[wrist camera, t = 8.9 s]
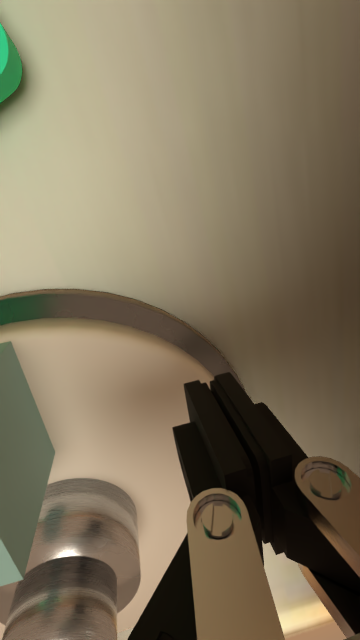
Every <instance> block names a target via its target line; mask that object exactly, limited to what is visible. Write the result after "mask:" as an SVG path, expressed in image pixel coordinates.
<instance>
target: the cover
mask: <svg viewBox="0 0 360 640" xmlns="http://www.w3.org/2000/svg"><path fill="white" fill-rule="evenodd" d="M140 580H141V570H140V554H139V539H138V523H137V511H136V507H135V504H134V502H133V501H132V499H131V497H130V496H129V495H128V494H127V493H126V492H125V491H123V490H122V489H121V488H119V487H117V486H116V485H114V484H111V483H109V482H106V481H102V480H98V479H91V478H73V479H65V480H61V481H57V482H54V483H51V484H48V485H47V488H46V492H45V496H44V500H43V504H42V508H41V512H40V516H39V520H38V524H37V528H36V532H35V536H34V539H33V543H32V547H31V551H30V555H29V559H28V563H27V567H26V571H25V575H24V579H23V580H20V581H17V582H13V583H10V584H7V585H3V586H0V623H2V624H3V625H5V630H4V633H3V637H2V640H117V614H118V613H119V612H120V611H122V610H123V609H124V608H125V607H126V606H127V605H128V604H129V603H130V602H131V600H132V599H133V598H134V596H135V594H136V593H137V591H138V588H139V585H140Z"/></svg>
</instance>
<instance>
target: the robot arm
mask: <svg viewBox="0 0 360 640" xmlns="http://www.w3.org/2000/svg"><path fill="white" fill-rule="evenodd" d="M184 391H185V397H186V403H187V408H188V414H189V420H190V422H189V423H186V424H182V425H178V426H175V427H172V429H173V435H174V440H175V445H176V449H177V454H178V458H179V462H180V466H181V469H182V473H183V477H184V480H185V484H186V487H187V491H188V494H189V498H190V501H191V503H190V505H189V508H188V510H187V520H186V521H187V532H188V533H187V534H186V536H185V538H184V540H183V542H182V543H181V545H180V547H179V549H178V550H177V552H176V554H175V556H174V558H173V559H172V561H171V563H170V565H169V566H168V568H167V570H166V572H165V574H164V575H163V577H162V579H161V581H160V582H159V584H158V586H157V588H156V590H155V591H154V593H153V595H152V597H151V598H150V600H149V602H148V604H147V606H146V607H145V609H144V611H143V613H142V614H141V616H140V618H139V620H138V622H137V623H136V625H135V627H134V629H133V630H132V632H131V634H130V636H129V638H128V640H285V638H284V635H283V631H282V628H281V624H280V621H279V618H278V614H277V611H276V607H275V604H274V600H273V597H272V594H271V590H270V587H269V583H268V580H267V576H266V573H265V569H264V559H263V547H262V541H263V542H264V544H266V543H269V542H270V543H271V545H272V547H273V550H274V552H275V554H276V555H277V554H280V553H283V552H284V553H285V555H286V557H287V558H289V559H291V560H293V561H295V562H297V563H298V566H299V568H300V570H301V572H302V574H303V576H304V577H305V578H306V580H307V581H308V583H309V584H310V586H311V587H312V589H313V590H314V591H315V593H316V594H317V596H318V597H319V599H320V600H321V602H322V603H323V605H324V606H325V607H326V609H327V610H328V612H329V613H330V615H331V616H332V618H333V619H334V620H335V622H336V623H337V625H338V626H339V628H340V629H341V631H342V632H343V634H344V635H345V636H346V638H347V639H345V640H360V478H359V477H358V476H357V475H356V474H355V473H354V472H352V471H351V470H350V469H349V468H348V467H346V466H345V465H343V464H342V463H340V462H338V461H336V460H334V459H331V458H327V457H322V456H319V457H310V458H308V457H307V455H306V454H305V453H304V452H303V450H302V449H301V448H300V447H299V445H298V444H297V443H296V442H295V440H294V439H293V438H292V437H291V435H290V434H289V433H288V432H287V431H286V429H285V428H284V427H283V426H282V424H281V423H280V422H279V421H278V419H277V418H276V417H275V416H274V414H273V413H272V412H271V411H270V409H269V408H268V407H267V406H266V405H265V404H264V403H262V402H261V403H257V404H254V403H253V402H252V401H251V399H250V398H249V397H248V395H247V394H246V393H245V391H244V390H243V389H242V387H241V386H240V385H239V383H238V382H237V381H236V379H235V378H234V377H233V375H232V374H231V373H230V372H227V373H223V374H219V375H215V376H214V380H212V381H210V389H209V387H208V385H207V383H206V382H205V383H201V382H200V381H199V380H196V381H192V382H188V383H184Z"/></svg>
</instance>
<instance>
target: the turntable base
mask: <svg viewBox="0 0 360 640" xmlns="http://www.w3.org/2000/svg"><path fill="white" fill-rule="evenodd" d="M72 317H73V318H84V319H95V320H104V321H108V322H113V323H118V324H122V325H127V326H131V327H134V328H137V329H139V330H142V331H145V332H148V333H151V334H154V335H156V336H158V337H160V338H162V339H164V340H166V341H168V342H170V343H172V344H174V345H176V346H178V347H179V348H181V349H182V350H184V351H185V352H186V353H188V354H189V355H191V356H192V357H194V358H195V359H197V360H198V361H199V362H200V363H201V364H202V365H203V366H204V367H205V368H206V369H207V370H208V371H209V372H211V373H212V375H213V376H215V375H219V374H223V373H227V372H230V373H231V374H232V375H233V377H234V378H235V379H236V381H237V382H238V383H239V385H240V386H241V387H242V389H243V390H244V388H243V386H242V384H241V383H240V381H239V379H238V377H237V375H236V374H235V373H234V371H233V370H232V368H231V367H230V366H229V364H228V363H227V362H226V360H225V359H224V358H223V356H222V355H221V354H220V352H219V351H218V350H217V349H216V348H215V347H214V346H213V345H212V344H211V343H210V342H209V341H208V340H207V339H206V338H205V337H204V336H203V335H201V334H200V333H199V332H197V331H196V330H195V329H193V328H192V327H190V326H189V325H188V324H186V323H185V322H184V321H182V320H180V319H178V318H176V317H174V316H173V315H171V314H169V313H167V312H165V311H163V310H161V309H159V308H156V307H154V306H151V305H148V304H146V303H143V302H141V301H138V300H135V299H131V298H127V297H123V296H119V295H115V294H111V293H106V292H97V291H89V290H80V289H43V290H36V291H28V292H20V293H13V294H9V295H5V296H1V297H0V326H1V325H4V324H8V323H12V322H19V321H26V320H33V319H40V318H72ZM244 391H245V390H244ZM245 393H246V392H245Z"/></svg>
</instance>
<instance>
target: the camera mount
mask: <svg viewBox="0 0 360 640" xmlns="http://www.w3.org/2000/svg"><path fill="white" fill-rule="evenodd" d="M21 77H22V63H21V59H20V56H19V53H18V51H17V49H16V47H15V45H14V44H13V42H12V40H11V39H10V37H9V36H8V34H7V33H6V31H5V29H4V28H3V26H2V25H1V23H0V103H1V102H3V101H4V100H5V99H6V98H8V97H9V96H10V95H11V94H12V93H13V92H15V90H16V89H17V88H18V86H19V84H20V81H21Z"/></svg>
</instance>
